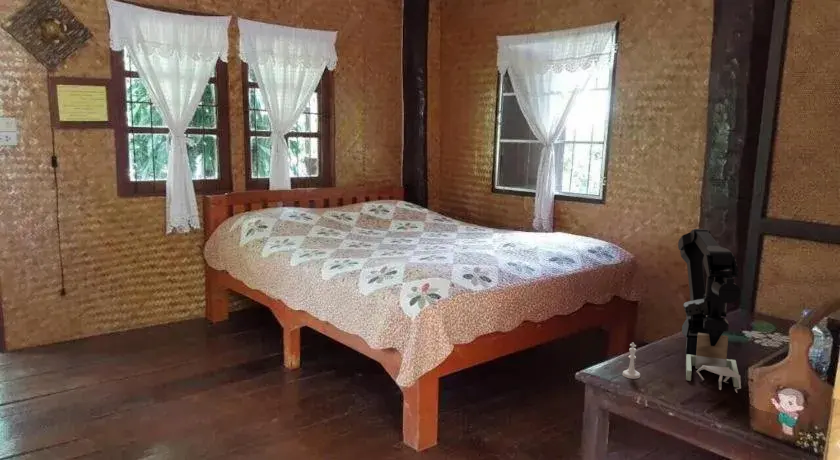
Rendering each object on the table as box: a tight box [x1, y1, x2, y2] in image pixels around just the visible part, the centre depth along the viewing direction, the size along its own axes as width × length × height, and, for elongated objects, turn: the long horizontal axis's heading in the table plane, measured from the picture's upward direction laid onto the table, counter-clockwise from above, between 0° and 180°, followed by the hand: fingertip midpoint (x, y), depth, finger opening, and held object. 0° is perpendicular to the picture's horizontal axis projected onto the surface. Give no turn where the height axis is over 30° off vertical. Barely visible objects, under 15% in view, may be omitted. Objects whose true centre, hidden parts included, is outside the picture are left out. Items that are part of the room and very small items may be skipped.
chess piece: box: [622, 342, 641, 380], centre depth 181 cm, size 5×5×10 cm
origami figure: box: [696, 365, 742, 394], centre depth 174 cm, size 12×8×5 cm
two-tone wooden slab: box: [694, 333, 729, 371], centre depth 184 cm, size 8×2×10 cm, turn 68°
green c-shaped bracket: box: [685, 354, 740, 388], centre depth 181 cm, size 13×14×3 cm
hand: (712, 344), depth 183 cm, fingers closed on two-tone wooden slab, 2 cm apart
